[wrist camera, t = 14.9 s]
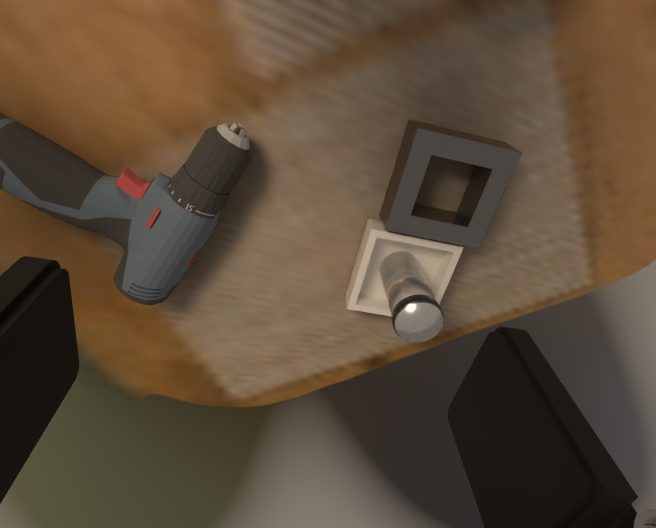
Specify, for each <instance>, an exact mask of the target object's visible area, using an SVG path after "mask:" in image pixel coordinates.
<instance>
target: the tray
mask: <svg viewBox="0 0 656 528" xmlns="http://www.w3.org/2000/svg"><path fill="white" fill-rule="evenodd" d="M463 248H464V247H463V245H458V244H453V243H448V242H443V241H438V240H433V239H428V238H423V237H418V236H413V235H408V234H403V233H398V232H393V231H388V230H385V229H384V226H383V223H382V220H377V219H372V218H368V219H367V223H366V226H365V230H364V233H363V236H362V240H361V243H360V246H359V250H358V253H357V256H356V260H355V263H354V267H353V270H352V273H351V277H350V280H349V283H348V287H347V290H346V293H345V297H346V305H347V309H350V310H356V311H362V312H368V313H374V314H380V315H386V316H391V317H392V315H391V311H390V308H389V304H388V301H387V297H386V294H385V290H384V287H383V283H382V280H381V276H380V272H379V269H380V265H381V263H382V261H383V260H384V258H385V257H387V256H388V255H390V254H392V253H394V252H399V251H403V252H408V253H410V254H412V255H414V256H415V257H416V259H417V261H418V263H419V265H420V267H421V269H422V271H423V274H424V276H425V278H426V280H427V282H428V285H429V287H430V289H431V291H432V293H433V295H434V298H435V300H436V301H437V302H438V304H440V302H441V299H442V297H443V295H444V292H445V290H446V288H447V285H448V283H449V281H450V278H451V276H452V274H453V272H454V269H455V267H456V265H457V262H458V260H459V258H460V255H461V253H462V251H463Z"/></svg>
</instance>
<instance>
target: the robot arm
mask: <svg viewBox="0 0 656 528" xmlns="http://www.w3.org/2000/svg"><path fill="white" fill-rule="evenodd" d="M78 370H79V358H78V349H77V341H76V332H75V323H74V315H73V306H72V298H71V289H70V280H69V274H68V271H67V270H65V269H61V268H60V265H59V263H58V262H57V261H55V260H48V259H41V258H35V257H28V256H25V257H22V258H20V259H19V260H18V261H16V262H15V263H14V264H13V265H12V266H11V267H10V268H9V269H8V270H6V271H5V272H4V273H3V274H2V275H1V276H0V503H1V502H2V500H3V498H4V497H5V495H6V494H7V492H8V490H9V489H10V487H11V485H12V483H13V482H14V480H15V478H16V477H17V475H18V474H19V472H20V470H21V469H22V467H23V465H24V464H25V462H26V460H27V459H28V457H29V455H30V454H31V452H32V450H33V449H34V447H35V445H36V444H37V442H38V441H39V439H40V437H41V436H42V434H43V432H44V431H45V429H46V427H47V426H48V424H49V422H50V421H51V419H52V417H53V416H54V414H55V413H56V411H57V409H58V408H59V406H60V404H61V402H62V401H63V399H64V397H65V396H66V394H67V393H68V391H69V389H70V388H71V386H72V384H73V383H74V381H75V379H76V377H77V374H78ZM448 420H449V423H450V427H451V430H452V432H453V435H454V438H455V441H456V444H457V447H458V450H459V453H460V456H461V459H462V461H463V465H464V467H465V470H466V474H467V476H468V479H469V482H470V485H471V488H472V491H473V494H474V497H475V500H476V503H477V506H478V509H479V511H480V514H481V518H482V520H483V523H484V526H485V528H656V509H643V510H641V511H640V512H638V513H636V511H635V509H634V508H633V506H632V505H631V503H632V502H633V501H634V500H636V499H637V498H638V496H637V495H636V494H635V492H634V491H633V489H632V488H631V486H630V485H629V483H628V482H627V480H626V479H625V477H624V476H623V474H622V473H621V471H620V470H619V468H618V467H617V465H616V464H615V462H614V461H613V460H612V458H611V456H610V455H609V453H608V452H607V450H606V449H605V447H604V446H603V444H602V443H601V441H600V440H599V438H598V437H597V435H596V434H595V432H594V431H593V429H592V428H591V426H590V425H589V423H588V422H587V420H586V419H585V418H584V416H583V414H582V413H581V411H580V410H579V408H578V407H577V405H576V404H575V403H574V401H573V400H572V398H571V396H570V395H569V394H568V392H567V391H566V389H565V387H564V386H563V385H562V383H561V382H560V380H559V379H558V377H557V376H556V374H555V373H554V371H553V370H552V368H551V367H550V365H549V364H548V362H547V361H546V359H545V358H544V356H543V355H542V353H541V352H540V350H539V349H538V347H537V346H536V344H535V343H534V341H533V340H532V338H531V337H530V335H529V334H528V333H527V332H526V331H524V330H520V329H514V328H507V327H499V328H497V329H496V330H495V331H494V332H490V333H489V334H488V336H487V337H486V339H485V341H484V343H483V345H482V347H481V348H480V350H479V352H478V354H477V356H476V358H475V360H474V361H473V363H472V365H471V367H470V369H469V371H468V373H467V374H466V376H465V378H464V380H463V382H462V384H461V386H460V388H459V389H458V391H457V393H456V395H455V397H454V399H453V401H452V402H451V404H450V406H449V410H448Z"/></svg>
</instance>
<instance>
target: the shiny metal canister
mask: <svg viewBox="0 0 656 528" xmlns="http://www.w3.org/2000/svg"><path fill="white" fill-rule="evenodd" d="M379 272H380V276H381V280H382V283H383V287H384V290H385V294H386V297H387V301H388V304H389V308H390V311H391V315H392V323H393V326H394V330H395V332H396V334H397V335H398V336H399V337H400V338H402V339H403V340H405V341H408V342H413V343H419V342H424V341H427V340H430V339H432V338H433V337H435V336H436V335H437V334H438V333H439V332H440V330H441V328H442V326H443V323H444V315H443V312H442V310H441V308H440V306H439V304H438V302H437V301H436V300H435V298H434V295H433V293H432V291H431V289H430V287H429V285H428V282H427V280H426V278H425V276H424V274H423V271H422V269H421V267H420V265H419V263H418V261H417V259H416V257H415V256H414V255H412V254H410V253H408V252H403V251H399V252H394V253H392V254H390V255H388V256H387V257H385V258H384V260H383V261H382V263H381V265H380V269H379Z"/></svg>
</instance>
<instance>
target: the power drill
mask: <svg viewBox="0 0 656 528" xmlns="http://www.w3.org/2000/svg"><path fill="white" fill-rule="evenodd" d="M245 133H246V130H244V126H243V125H241V124H239V123H238V124H236V123H234V124H233V125H232V124H230V123H224V124H222V125H219V126H215V127H212V128H209V129H207V130H206V131H205V133H204V134H203V136H202V137H201V139H200V140H199V142H198V143H197V145H196V146H195V148H194V149H193V151H192V153H191V154H190V156H189V158H188V160H187V161H186V163H185V164H184V165H183V166H182V167H181V168H180V169H179V171H178V172H177V173H176V174H175V175H174V177H173V178H170V177H167V176H165V175H163V174H162V173H159V174H158V175H157V176H156V177H155V178H154V179H153V180H152V181H150V182H149V183H146V182H144V181H143V180H142V179H140V178H139V177H138V176H136V175H135V174H134V173H133V172H132V171H131V170H130V169H129V168H126V169H124V170H123V171H122V173H121V175H120V177H112V176H108V175H106V174H104V173H103V172H101V171H99V170H98V169H96V168H95V167H93V166H91V165H90V164H88V163H87V162H85V161H84V160H82V159H81V158H80V157H78V156H76V155H75V154H73V153H71V152H70V151H68V150H66V149H65V148H63V147H61V146H60V145H58V144H56V143H54V142H53V141H51V140H49V139H47V138H46V137H44V136H42V135H40V134H38V133H37V132H35V131H33V130H31V129H29V128H27V127H25V126H23V125H22V124H20V123H18V122H16V121H14V120H13V119H11V118H9V117H7V116H5V115H3V114H2V113H0V188H1V189H3V190H4V191H6V192H8V193H10V194H11V195H13V196H15V197H17V198H19V199H20V200H22V201H24V202H26V203H28V204H30V205H32V206H33V207H35V208H37V209H39V210H41V211H43V212H45V213H48V214H50V215H52V216H54V217H56V218H59V219H61V220H63V221H65V222H68V223H70V224H72V225H74V226H77V227H80V228H83V229H87V230H91V231H94V232H98V233H101V234H103V235H106V236H107V237H109V238H111V239H113V240H115V241H116V242H118V243H119V244H121V245H122V246H123V249H124V254H123V258H122V260H121V262H120V264H119V266H118V268H117V270H116V273H115V275H114V281H115V284H116V287H117V288H118V289H119V290H120V292H121V293H123V294H124V295H125V296H127V297H128V298H129V299H130V300H133V301H135V302H138V303H141V304H144V305H154V304H157V303H161V302H163V301H165V300H166V299H167V298H168V297H169V296H170V294H171V293H172V291H173V290H174V288H175V287H176V286H177V284H178V283H179V281H180V280H181V279H182V277H183V276H184V274H185V273H186V271H187V270H188V268H189V267H190V265H191V264H192V263H193V258H195V257H196V256H197V255H198V254H199V250H200V249H201V248H202V247H203V246H204V245H205V243H206V242H207V240H208V238H209V237H210V235H211V233H212V232H213V230H214V228H215V227H216V225H217V223H218V221H219V214H220V213H221V211H222V210H223V207H224V205H225V203H226V201H227V199H228V196H229V194H230V192H231V190H232V188H233V187H234V185H235V184H236V182H237V181H238V180H239V178H240V176H241V175H242V173H243V171H244V170H245V168H246V166H247V165H248V163H249V161H250V159H251V155H250V147H249V137H248V136H247V135H246V134H245Z"/></svg>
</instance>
